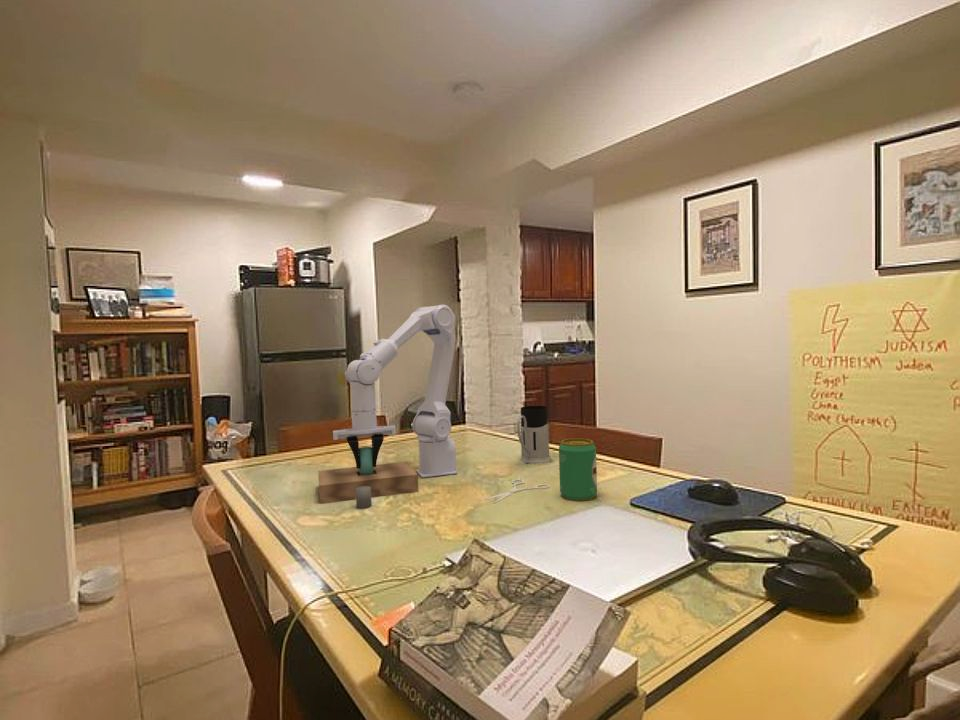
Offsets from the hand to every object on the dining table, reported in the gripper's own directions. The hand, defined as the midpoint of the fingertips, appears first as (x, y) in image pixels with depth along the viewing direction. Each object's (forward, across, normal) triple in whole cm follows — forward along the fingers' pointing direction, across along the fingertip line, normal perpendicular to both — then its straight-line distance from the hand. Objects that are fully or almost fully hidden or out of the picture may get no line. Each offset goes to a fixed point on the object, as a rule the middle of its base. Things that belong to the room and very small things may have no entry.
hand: (366, 466), depth 126 cm
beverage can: (+6, -43, +25) cm, 50 cm away
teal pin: (+3, 0, 0) cm, 4 cm away
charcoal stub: (+5, +2, +13) cm, 14 cm away
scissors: (+6, -31, +16) cm, 35 cm away
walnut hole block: (+5, 0, 0) cm, 5 cm away
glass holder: (+6, -46, -8) cm, 47 cm away
